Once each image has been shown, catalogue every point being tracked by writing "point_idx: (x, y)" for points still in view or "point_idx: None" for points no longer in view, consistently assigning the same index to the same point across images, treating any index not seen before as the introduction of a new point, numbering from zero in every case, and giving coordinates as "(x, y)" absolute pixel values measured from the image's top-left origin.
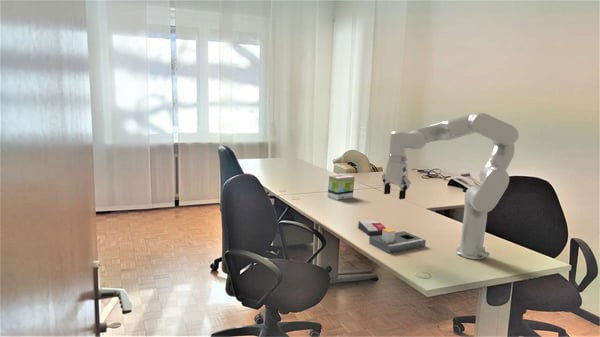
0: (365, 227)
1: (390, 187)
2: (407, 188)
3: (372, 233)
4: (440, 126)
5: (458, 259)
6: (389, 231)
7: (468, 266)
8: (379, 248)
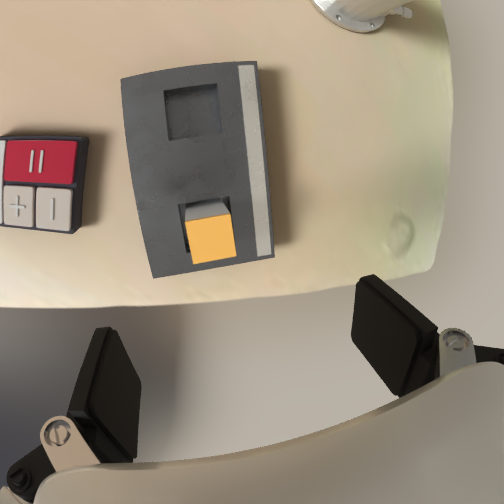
0: (33, 225)
1: (97, 388)
2: (483, 349)
3: (77, 215)
4: None
5: (368, 58)
6: (231, 248)
7: (406, 80)
8: None
